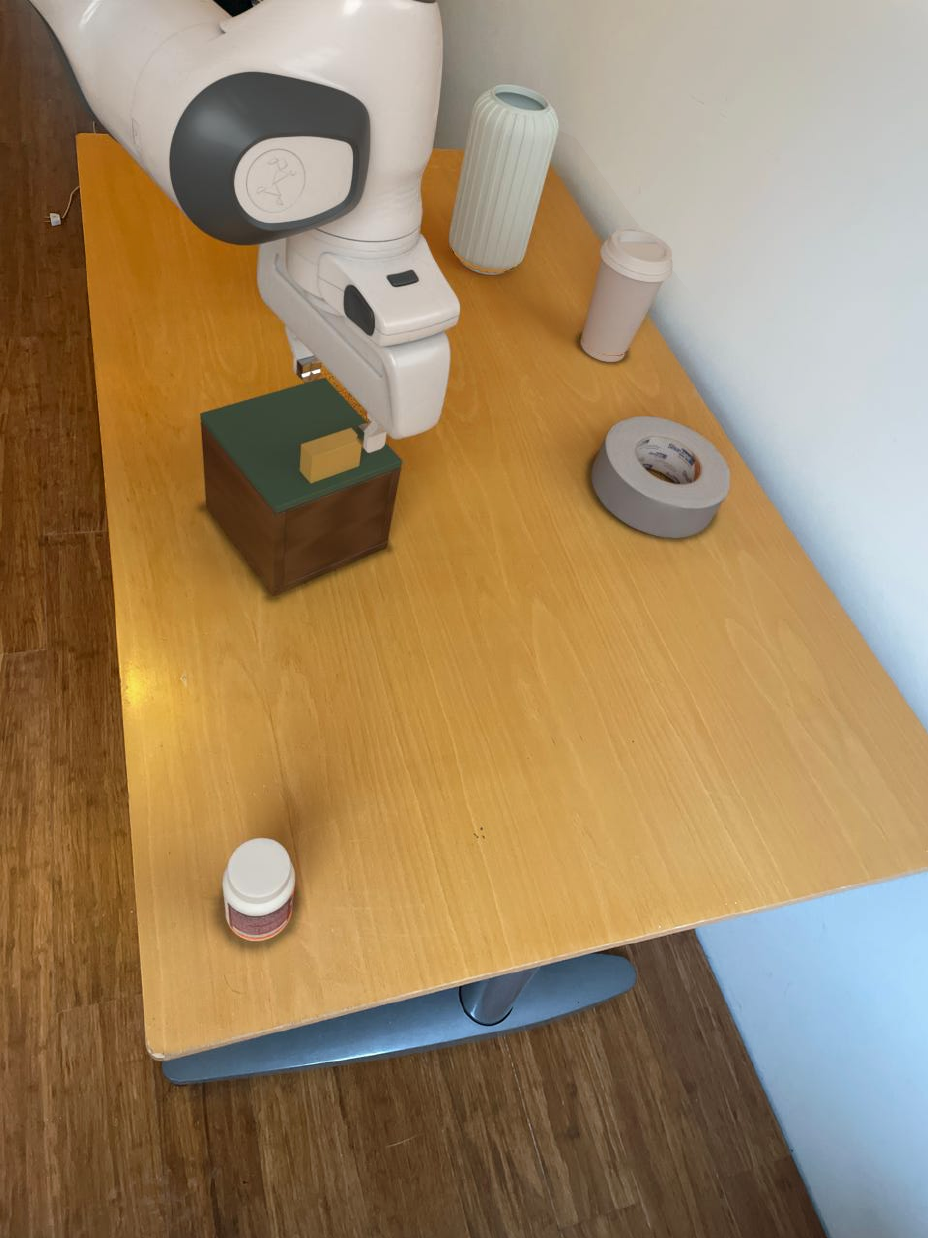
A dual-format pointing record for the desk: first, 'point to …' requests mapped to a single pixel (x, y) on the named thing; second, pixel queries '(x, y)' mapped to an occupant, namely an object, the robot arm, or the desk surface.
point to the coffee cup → (624, 291)
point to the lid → (297, 443)
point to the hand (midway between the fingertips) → (337, 409)
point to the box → (297, 522)
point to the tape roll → (648, 496)
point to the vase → (502, 177)
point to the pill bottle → (258, 889)
